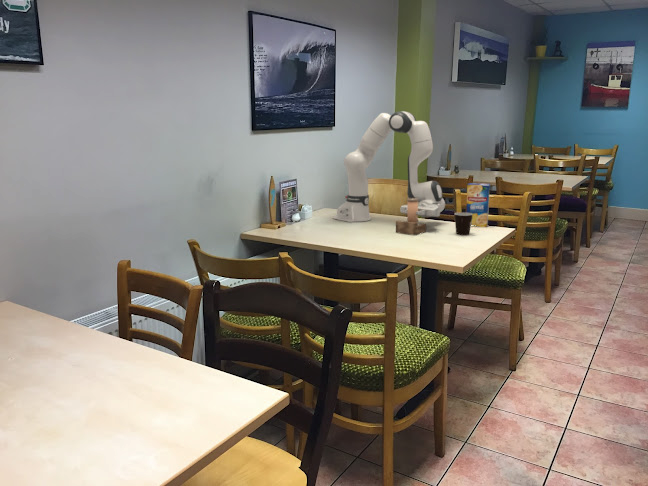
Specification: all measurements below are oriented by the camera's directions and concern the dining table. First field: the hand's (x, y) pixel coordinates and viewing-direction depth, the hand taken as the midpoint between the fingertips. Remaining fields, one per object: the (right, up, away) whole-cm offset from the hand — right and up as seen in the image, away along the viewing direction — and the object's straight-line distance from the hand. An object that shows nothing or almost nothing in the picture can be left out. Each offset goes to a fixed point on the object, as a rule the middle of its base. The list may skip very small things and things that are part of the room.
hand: (411, 212), depth 273 cm
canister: (+1, -8, +3) cm, 8 cm away
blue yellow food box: (+37, -6, +15) cm, 41 cm away
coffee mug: (+24, -11, -5) cm, 27 cm away
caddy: (0, -10, +2) cm, 10 cm away
